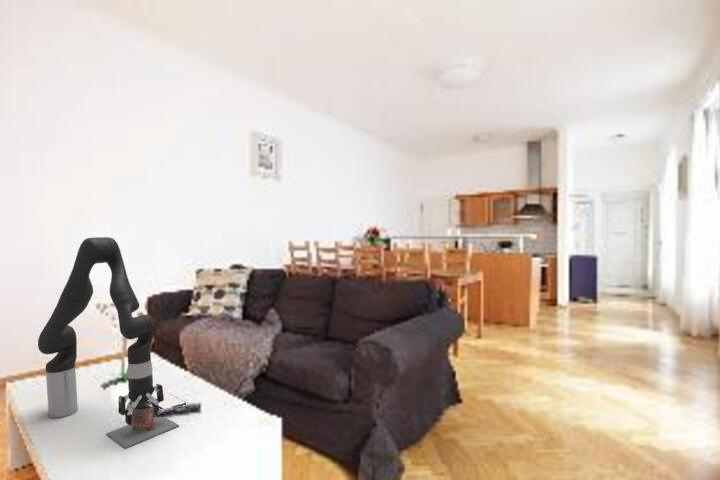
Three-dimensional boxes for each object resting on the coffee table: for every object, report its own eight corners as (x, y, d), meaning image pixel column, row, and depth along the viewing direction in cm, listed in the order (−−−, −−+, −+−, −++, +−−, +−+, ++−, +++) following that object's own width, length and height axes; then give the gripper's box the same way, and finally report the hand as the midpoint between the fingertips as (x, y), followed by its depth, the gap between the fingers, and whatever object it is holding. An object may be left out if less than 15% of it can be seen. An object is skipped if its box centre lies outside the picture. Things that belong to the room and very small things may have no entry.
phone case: (147, 403, 171) (164, 414, 160) (147, 399, 171) (164, 410, 160) (169, 396, 177) (187, 406, 166) (169, 392, 177) (187, 402, 166)
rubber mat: (106, 435, 145) (106, 433, 145) (158, 415, 159) (158, 413, 159) (125, 449, 135) (125, 447, 135) (179, 426, 149) (178, 425, 149)
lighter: (129, 430, 146) (128, 401, 146) (136, 425, 150) (135, 397, 149) (150, 431, 145) (148, 403, 144) (156, 427, 148) (155, 399, 148)
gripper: (155, 365, 154) (157, 409, 155) (113, 377, 143) (116, 424, 144) (165, 370, 149) (168, 414, 150) (123, 382, 138) (125, 431, 139)
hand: (142, 419), depth 147 cm, fingers open, 8 cm apart
